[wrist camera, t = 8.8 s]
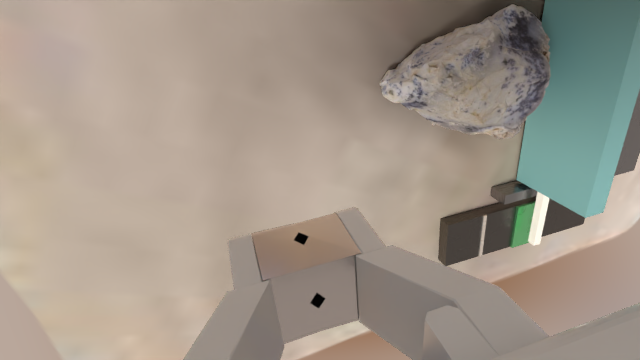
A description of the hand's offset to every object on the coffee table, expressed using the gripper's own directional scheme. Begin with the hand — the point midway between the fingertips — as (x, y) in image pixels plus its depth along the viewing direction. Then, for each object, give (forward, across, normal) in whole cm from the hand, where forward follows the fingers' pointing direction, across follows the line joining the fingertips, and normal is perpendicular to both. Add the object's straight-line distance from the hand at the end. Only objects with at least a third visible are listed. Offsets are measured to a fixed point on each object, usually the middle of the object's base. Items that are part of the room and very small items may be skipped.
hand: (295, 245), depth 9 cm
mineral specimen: (+15, -14, +1) cm, 20 cm away
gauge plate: (+14, -21, +4) cm, 25 cm away
